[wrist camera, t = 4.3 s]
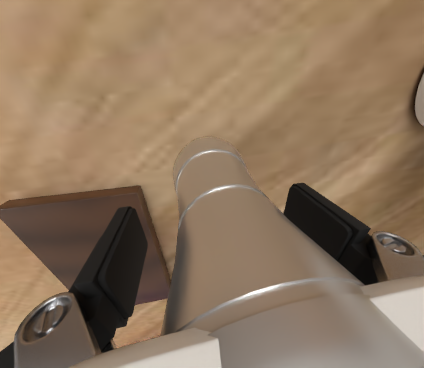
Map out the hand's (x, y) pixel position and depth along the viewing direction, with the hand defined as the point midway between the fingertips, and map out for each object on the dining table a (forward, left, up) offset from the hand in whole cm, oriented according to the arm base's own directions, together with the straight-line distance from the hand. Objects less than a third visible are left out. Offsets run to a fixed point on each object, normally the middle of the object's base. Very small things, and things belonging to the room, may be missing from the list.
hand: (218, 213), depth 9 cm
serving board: (+11, -13, -8) cm, 19 cm away
